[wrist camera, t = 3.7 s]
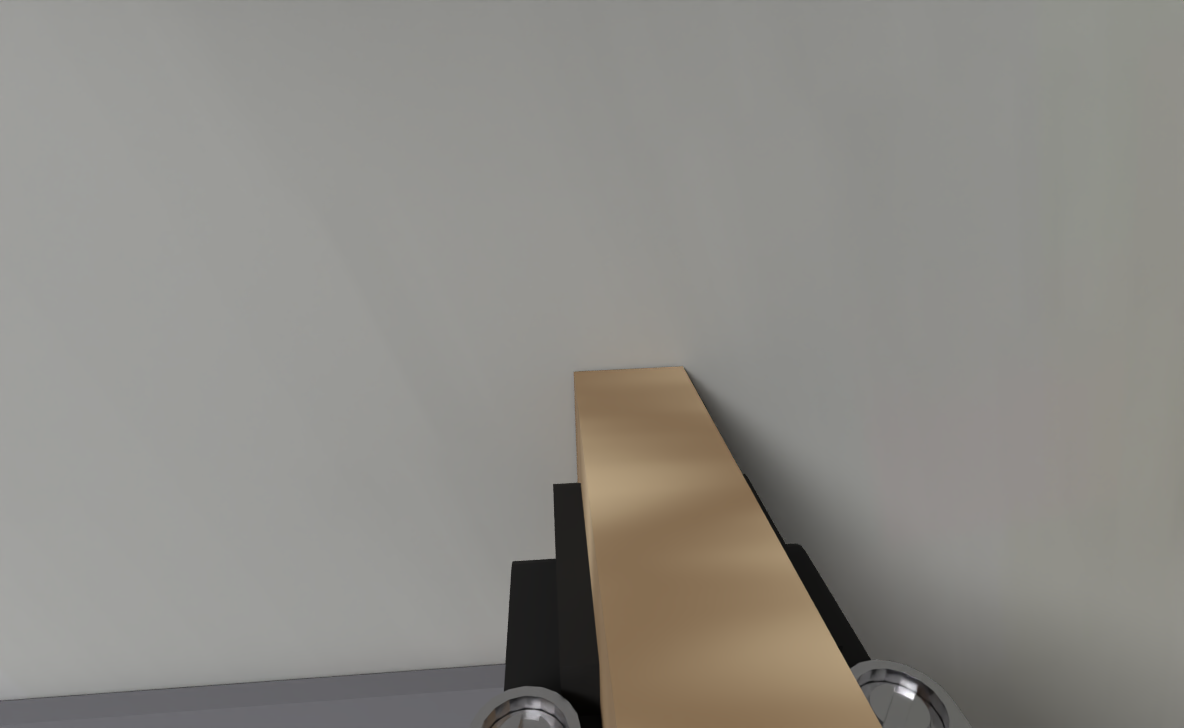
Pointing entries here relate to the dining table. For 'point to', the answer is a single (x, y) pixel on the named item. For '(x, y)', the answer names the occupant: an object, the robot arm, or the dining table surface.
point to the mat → (278, 703)
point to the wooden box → (693, 573)
